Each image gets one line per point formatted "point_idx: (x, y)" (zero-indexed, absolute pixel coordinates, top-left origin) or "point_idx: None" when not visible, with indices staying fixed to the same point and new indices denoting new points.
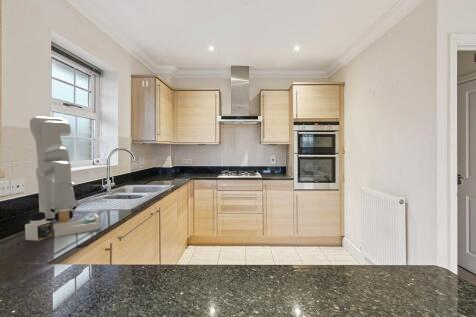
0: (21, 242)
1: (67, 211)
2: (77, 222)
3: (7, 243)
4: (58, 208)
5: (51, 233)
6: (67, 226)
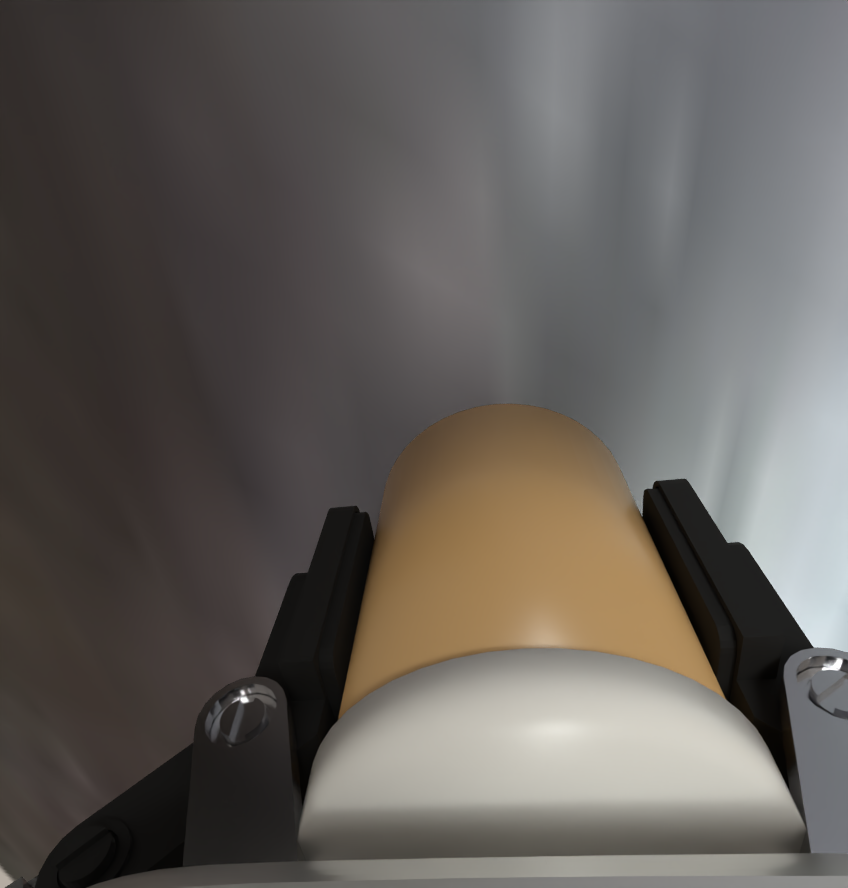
0: None
1: None
2: None
3: (2, 846)
4: (329, 853)
5: None
6: None
